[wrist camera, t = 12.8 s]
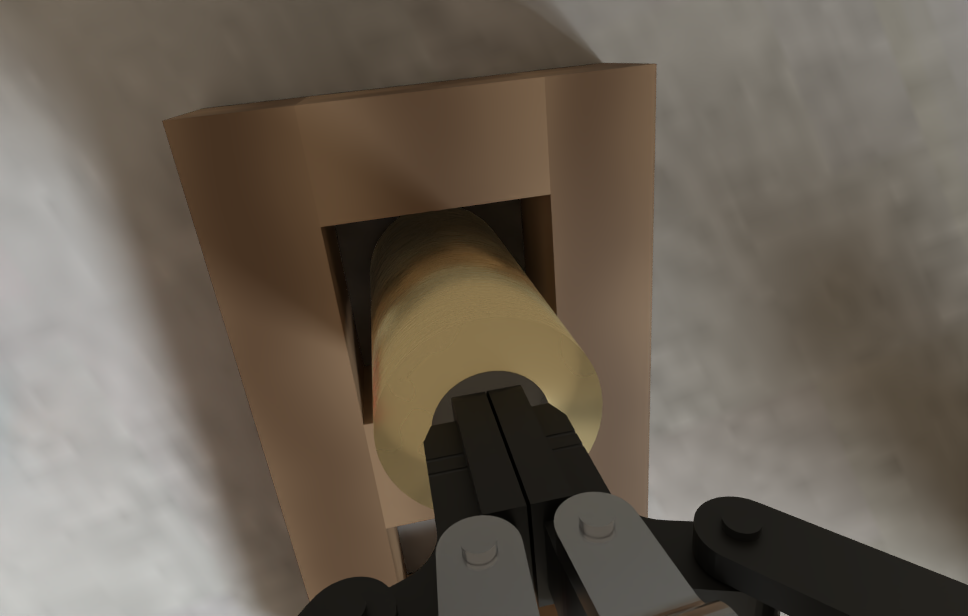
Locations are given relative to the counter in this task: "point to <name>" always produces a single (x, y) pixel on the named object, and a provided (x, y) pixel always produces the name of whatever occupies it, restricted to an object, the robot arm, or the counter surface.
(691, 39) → the counter surface
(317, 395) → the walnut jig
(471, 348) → the yellow cylinder
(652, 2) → the counter surface
